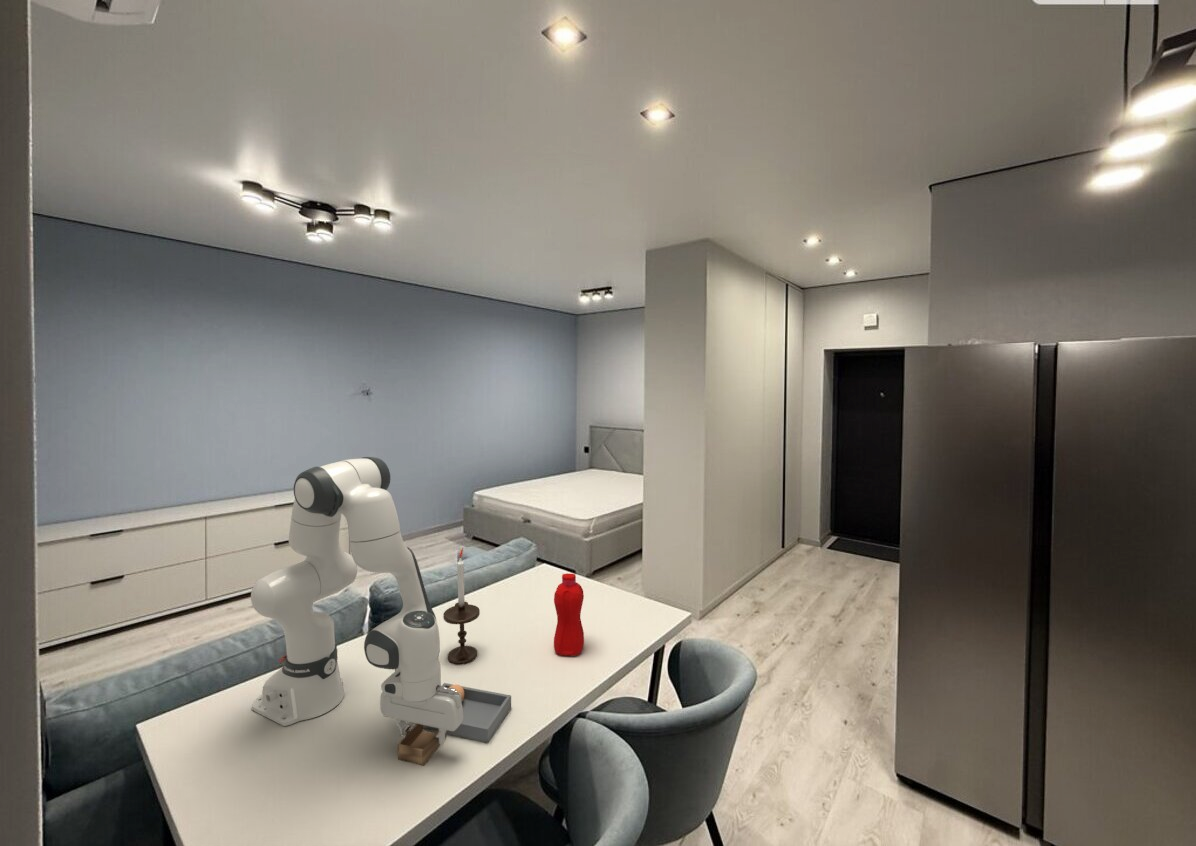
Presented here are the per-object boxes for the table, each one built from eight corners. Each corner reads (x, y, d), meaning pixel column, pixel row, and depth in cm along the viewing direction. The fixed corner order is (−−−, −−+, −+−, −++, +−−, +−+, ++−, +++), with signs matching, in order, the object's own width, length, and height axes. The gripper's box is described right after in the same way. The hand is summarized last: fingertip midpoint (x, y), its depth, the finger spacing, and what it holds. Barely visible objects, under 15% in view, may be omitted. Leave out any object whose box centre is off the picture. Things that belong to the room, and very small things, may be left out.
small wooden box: (398, 759, 112) (397, 744, 112) (421, 732, 121) (421, 718, 120) (423, 765, 110) (423, 750, 110) (446, 737, 119) (445, 723, 119)
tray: (415, 727, 122) (415, 714, 122) (444, 694, 135) (444, 682, 135) (488, 743, 117) (487, 729, 117) (511, 707, 130) (511, 695, 129)
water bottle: (585, 639, 163) (585, 567, 161) (581, 658, 153) (581, 581, 150) (558, 638, 164) (558, 566, 162) (552, 656, 154) (551, 579, 151)
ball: (451, 688, 134) (444, 708, 130) (446, 680, 131) (439, 700, 127) (469, 690, 133) (462, 710, 129) (464, 682, 130) (457, 702, 126)
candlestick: (478, 644, 160) (476, 540, 157) (481, 662, 150) (479, 552, 147) (444, 650, 157) (441, 544, 154) (444, 669, 147) (441, 556, 143)
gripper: (467, 681, 114) (469, 737, 116) (392, 668, 120) (394, 721, 121) (453, 699, 108) (454, 757, 110) (374, 683, 114) (377, 739, 115)
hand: (422, 738), depth 115 cm, fingers open, 8 cm apart
